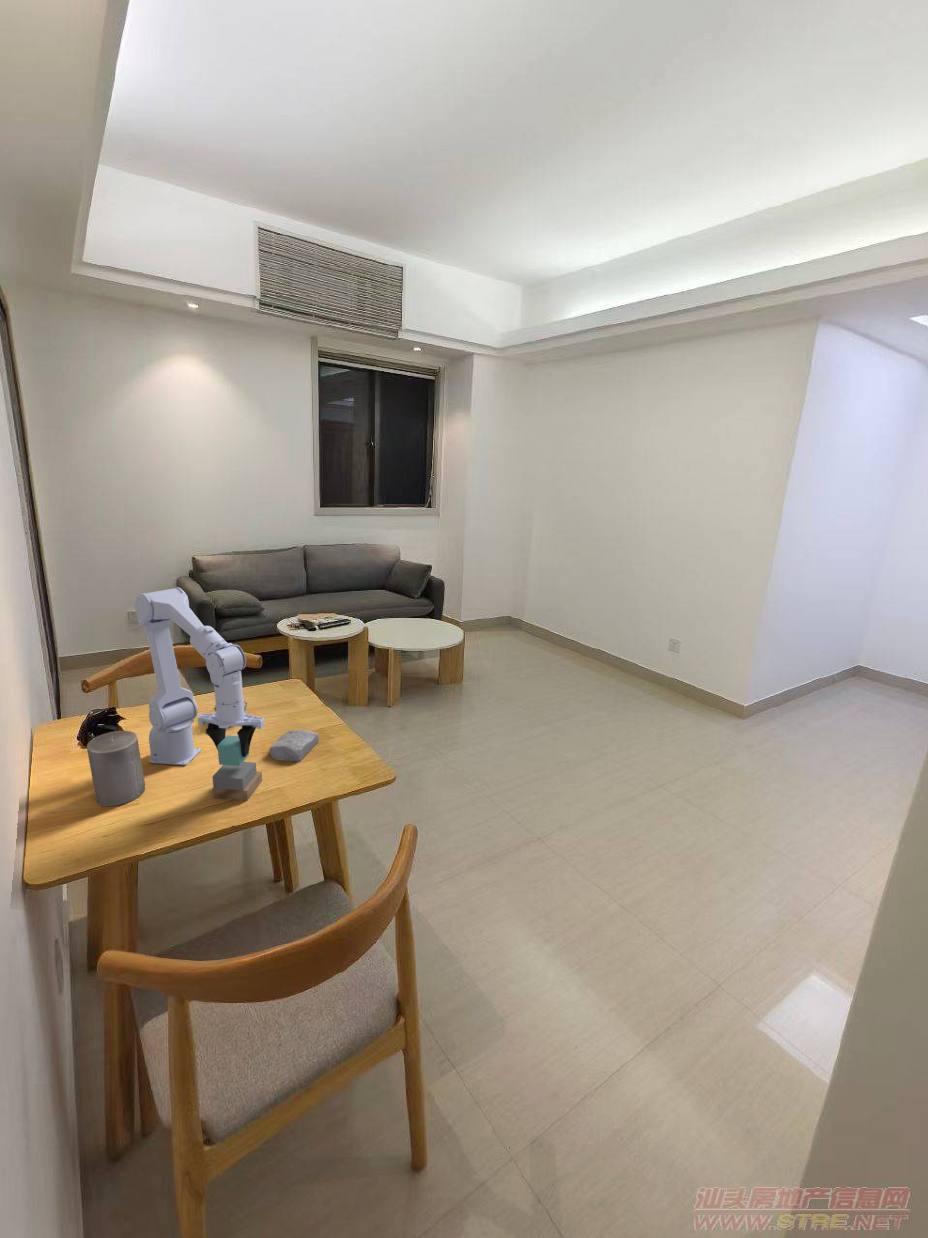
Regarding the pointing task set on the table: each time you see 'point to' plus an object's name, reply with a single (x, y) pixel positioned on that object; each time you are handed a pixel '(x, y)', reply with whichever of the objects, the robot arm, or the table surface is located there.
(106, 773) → the pillar candle
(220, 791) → the walnut slab
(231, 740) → the teal cube
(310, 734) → the stone block
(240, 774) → the grey block
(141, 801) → the table surface
